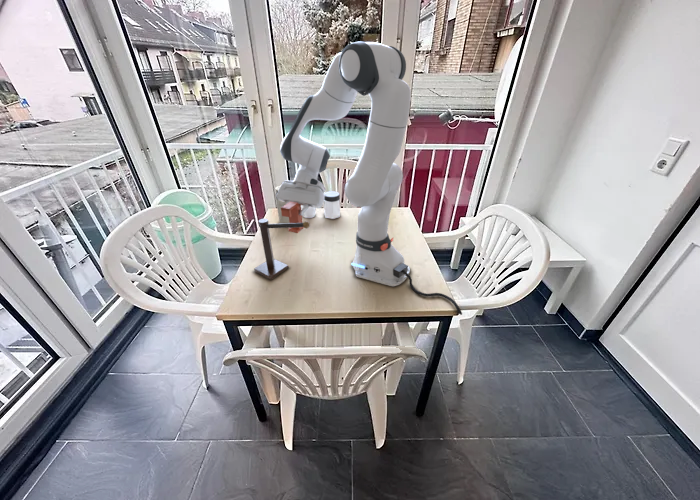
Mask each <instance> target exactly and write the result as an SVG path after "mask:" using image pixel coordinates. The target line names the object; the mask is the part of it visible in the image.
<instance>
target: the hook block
mask: <svg viewBox="0 0 700 500" xmlns="http://www.w3.org/2000/svg"><path fill="white" fill-rule="evenodd" d="M299 210H302V209H301V204H298V203H297V202H291V201H290V202H289V203H287V204H286V205H284V206H283V207H281V212H282V216H285V217H289V222H290V223H303V222H304V220H303V216H301V215H299V214H298V213H299ZM287 229H288V230H287V231H288V232H290V233H295V234H299V233H300V232H301V231H303V230H304V229H305V228H304V227H294V228H287Z"/></svg>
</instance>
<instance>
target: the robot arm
mask: <svg viewBox="0 0 700 500" xmlns="http://www.w3.org/2000/svg"><path fill="white" fill-rule="evenodd" d="M406 61H407V60H406V57H405V55H404V53H403V52H402V51H400V49H398V48H396V47H394V46H392V45H386V44H382V43H380V42H374V41H361V40H360V41H355V42H352V43H349V44H348V45H346V46H345V47H344V48H343V49H342V50H341V51H340V52H338V53H337V54H336V55H335V57H334V58H333V60H332V61H331V64H330V65H329V68H328V69H327V71H326V74H325V76H324V79H323V82H322V85H321V88H319V90H318V92H316V93H315V94H311V95H308V96H307V98H306V99H305V100H304V102H303V104H302V106H301V107H300V108H299V110H298V112H297V115H296V116H295V119H294V120H293V122H292V124H291V126H290V128H289V130H288V132H287V134H286V135H285V136H284V138H283V139H282V141H281V143H280V145H279V146H280V147H279V153H280V154H281V156H282V158H283V159H284V160H285V161H288V162H291V163H294V164H296V165H297V164H298V165H299V167H298V169H297V170H296V173H295V176H294V179H293V180H288V179H286V180H284V181H282V182H281V184H280V185H281V186H280V185H279V186H280V188H279V190H278V192H277V195H276V194H275V198H276V197H277V199H278V200H279V201H281V202H286V204H287V203H289V202H290V201H291V202H297V203H298V204H301V205H303V206H304V207H303V209H301V210H299V213H298V214H299V215H301V216H302V217H304V216H303V215H304V212H305V211H306V210H307V209H308V208H309V207H315V208H316V209H321V208H322V207H323V206H324V197H325V194H324V193H325V192H326V190H327V188H326V186H325V185H324V183H322V182H321V181H320V180H318V175H319V174H321V173H323V172H324V171H326V169H327V165H328V161H329V159H330V157H331V155H330V152H329V150H328V148H327V147H325V146H323V145H321V144H319V143H317V142H314V141H312V140H309V139H308V138H304V137H303V136H302V135H301V134H302V132H303V130H304V129H305V127H306V125H307V124H308V123H309V122H310V121H314V120H318V121H319V120H320V121H338V120H341V119H344V118H345V117H347V115H348V114H349V112H350V111H351V109H352V107H353V105H354V103H355V100H356V98H357V95H358V94H359V95H361V96H363V97H364V96H365V97H366V96H367V95H369V98H370V100H371V106H370V107H371V108H370V113H369V119H368V123H367V124H368V125H367V129H366V135H365V141H364V145H363V148H362V151H361V153H360V154H361V155H360V156H359V159H358V161H357V164H356V165H355V168H354V170H353V172H352V174H351V175H350V177H349V178H348V180H346V182H345V184H344V194H345V197H346V199H347V201H348V202H349V203H350V204H351V205H352V206H354V207H356V208H360V209H359V211H358V214H357V231H356V234H355V243H356V248H355V255H354V258H353V261H352V262H351V264H350V265H351V266H352V268H353V270H354V271H355V276H356V277H357V278H360V279H363V280H367V281H371V282H375V283H378V284H382V285H385V286H389V287H397V286H400V285H401V284H403V283H404V282H405V281H406V280H407V279H408V280H409V281H408V282H409V283H408V284H409V286H410V288H411V290H412V291H413V292H415V293H416V294H417V295H420V296H422V297H442V298H444V299H446V300H448V301H449V302H451V303H452V304H453V306H454V307H455V309H456V311H457V312H458V314H459V315H460V316H461V315H463V312H462V310H461V308H460V307H459V305H458V303H457V302H456V301H455V300H454V299H453V298H452V297H450V296H448V295H446V294H443V293H440V292H432V293H425V292H422V291H420V290H418V289H416V288H415V287H414V285H413V278H412V277H411V275H410V274H411V273H410V272H411V269H410V266H409V265H408V264H406V263H405V257H404V255H403V254H402V253H400V252H399V250H397V248H395V247H394V245H393V244H392V242H393V241H394V237H390V236H389V234H388V232H389V230H388V229H389V223H390V222H389V221H390V216H391V211H392V208H393V204H394V202H395V198H396V195H397V193H398V190H399V188H400V186H401V185H402V182H403V179H404V174H403V171H402V168H401V167H400V166H399V165H398V164H397V163H395V160H396V159H397V158H398V156H399V155H400V152H401V150H402V145H403V142H404V137H405V134H406V130H407V125H408V120H409V115H410V109H411V100H412V99H411V98H412V90H411V86H410V85H409V84H408V82H406V81H405V80H403V79H404V77H405V74H406V71H407V62H406Z"/></svg>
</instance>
